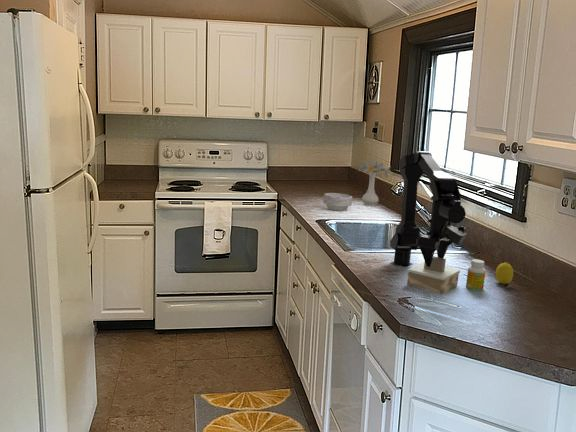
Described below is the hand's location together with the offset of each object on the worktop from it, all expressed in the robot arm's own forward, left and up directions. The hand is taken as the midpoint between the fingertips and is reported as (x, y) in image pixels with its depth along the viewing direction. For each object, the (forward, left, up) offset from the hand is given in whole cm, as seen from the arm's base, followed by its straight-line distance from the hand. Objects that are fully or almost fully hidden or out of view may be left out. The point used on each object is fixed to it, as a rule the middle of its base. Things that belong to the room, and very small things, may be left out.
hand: (434, 264), depth 191 cm
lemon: (-21, +16, -8) cm, 28 cm away
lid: (0, 0, -3) cm, 3 cm away
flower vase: (-118, -90, -8) cm, 148 cm away
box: (0, 0, -8) cm, 8 cm away
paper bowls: (-89, -94, -8) cm, 130 cm away
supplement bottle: (-8, +11, -8) cm, 16 cm away
